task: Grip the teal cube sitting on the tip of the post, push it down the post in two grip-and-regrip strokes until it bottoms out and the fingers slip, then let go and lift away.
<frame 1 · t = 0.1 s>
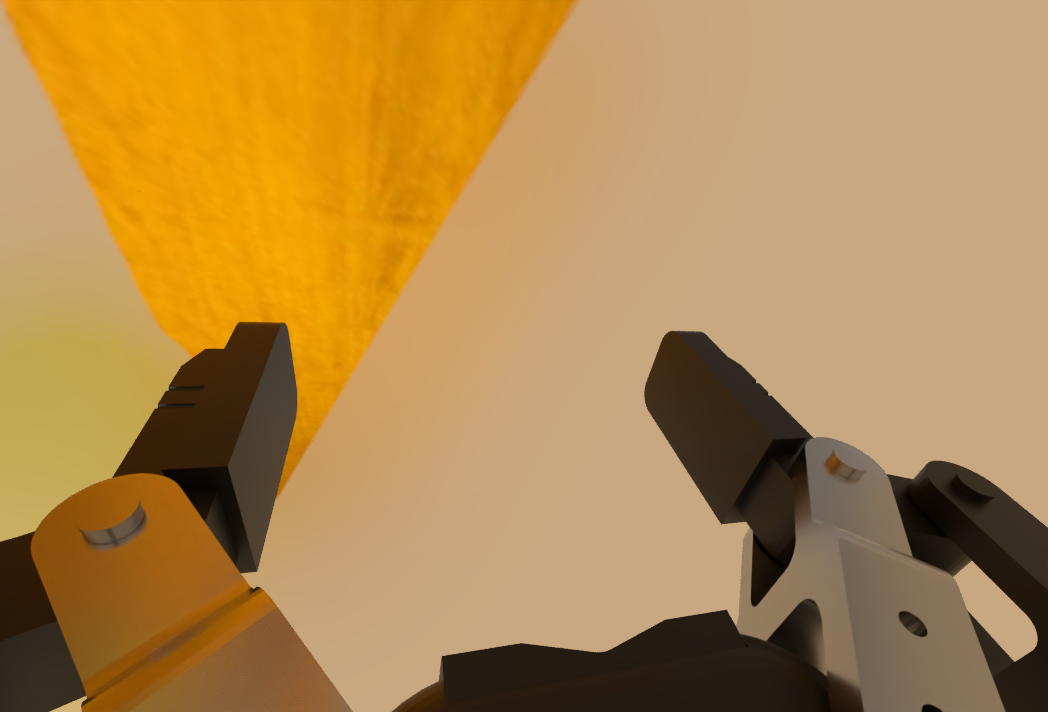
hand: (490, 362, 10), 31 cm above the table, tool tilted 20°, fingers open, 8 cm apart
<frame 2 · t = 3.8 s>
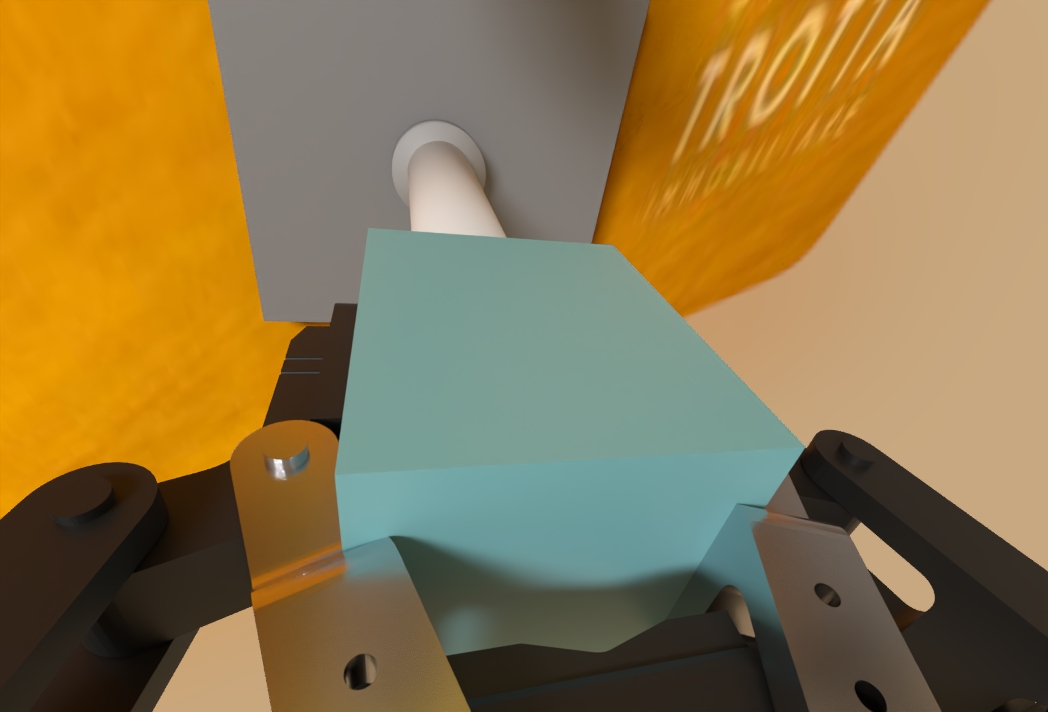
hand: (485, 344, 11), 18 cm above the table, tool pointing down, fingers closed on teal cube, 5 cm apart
post stand: (435, 158, 25), on the table
teal cube: (510, 432, 8), point 21 cm above the table, slide at 4.5 cm, touching gripper
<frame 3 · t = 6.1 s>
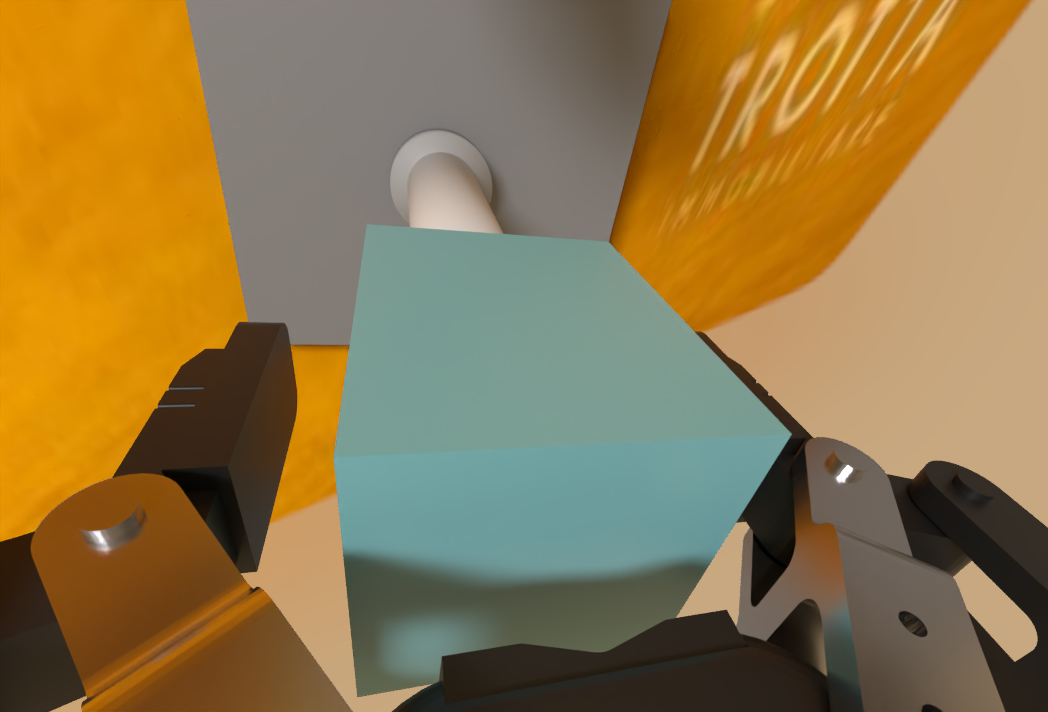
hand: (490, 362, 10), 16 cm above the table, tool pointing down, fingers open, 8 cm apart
post stand: (437, 170, 23), on the table
teal cube: (507, 425, 9), point 18 cm above the table, slide at 2.0 cm
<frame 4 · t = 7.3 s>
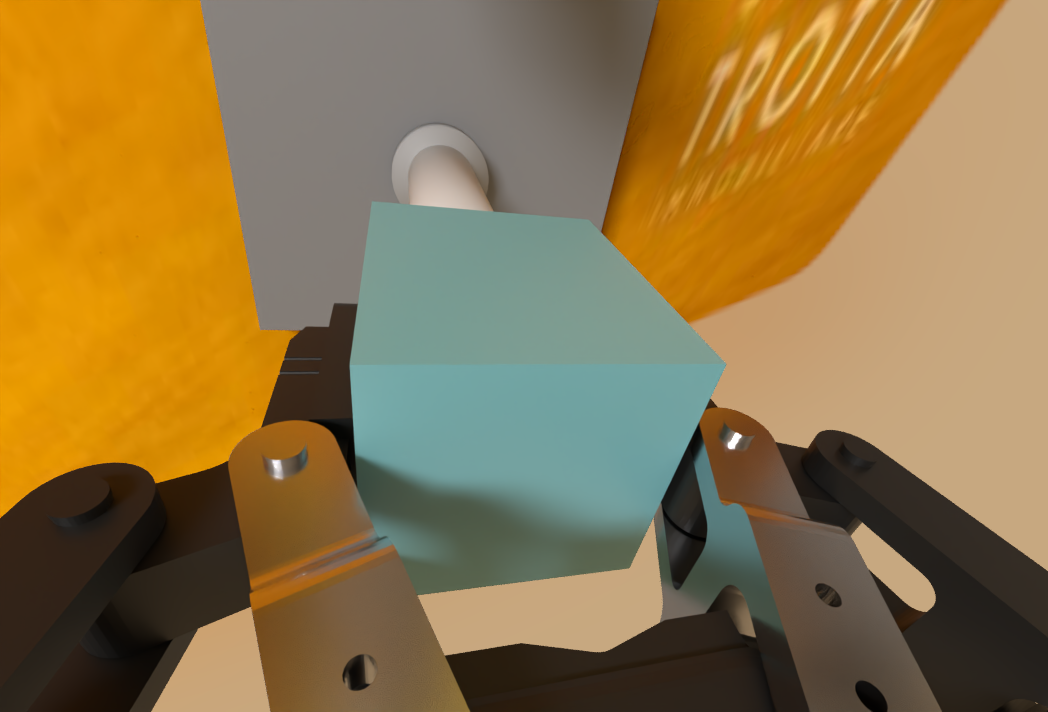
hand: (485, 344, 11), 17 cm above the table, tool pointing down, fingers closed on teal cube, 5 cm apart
post stand: (436, 162, 24), on the table
teal cube: (495, 378, 10), point 18 cm above the table, slide at 1.9 cm, touching gripper
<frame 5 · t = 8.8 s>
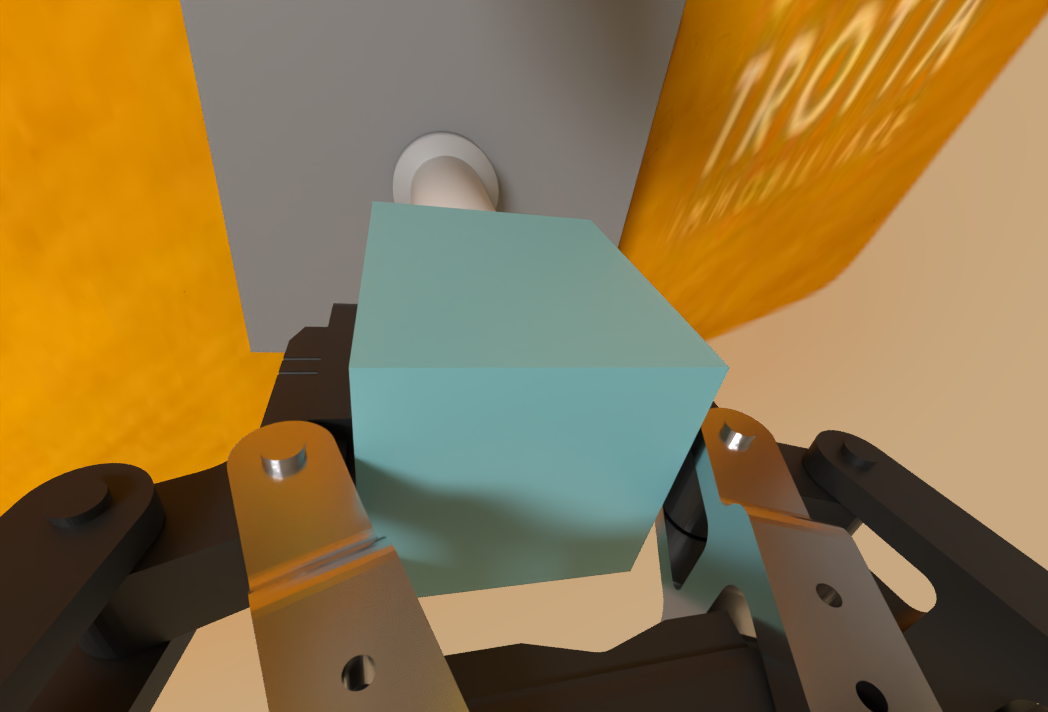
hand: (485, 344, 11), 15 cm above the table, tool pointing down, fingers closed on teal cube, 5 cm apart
post stand: (441, 173, 22), on the table
teal cube: (496, 379, 10), point 16 cm above the table, slide at -0.3 cm, touching gripper, post stand
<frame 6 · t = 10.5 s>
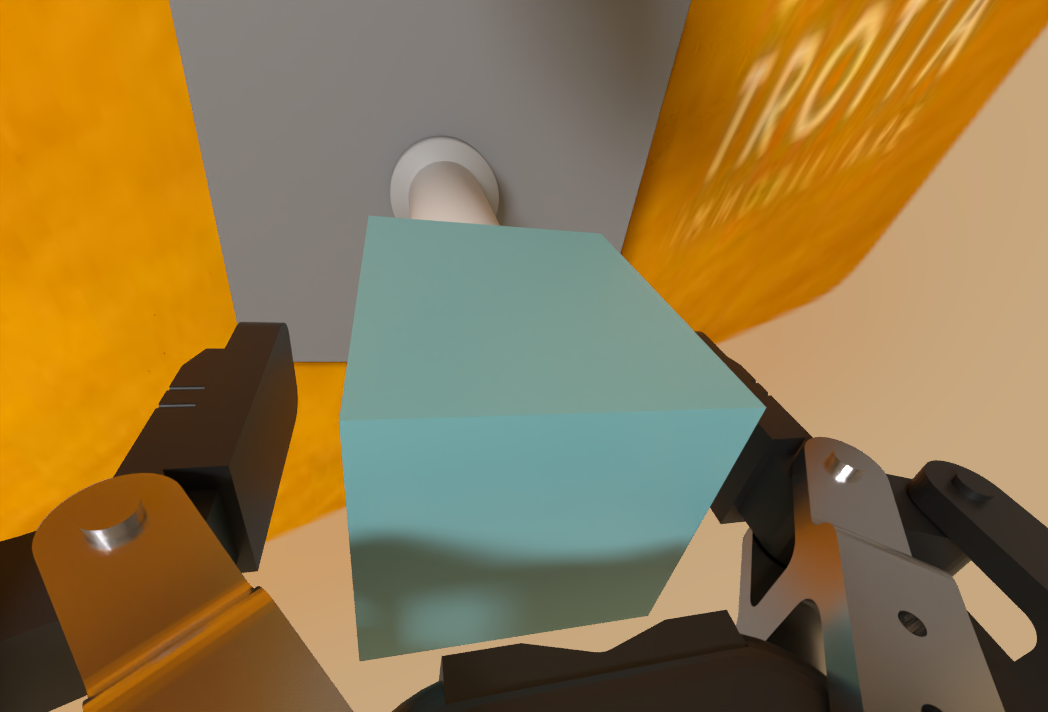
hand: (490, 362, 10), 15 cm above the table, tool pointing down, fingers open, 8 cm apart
post stand: (440, 178, 22), on the table
teal cube: (502, 407, 9), point 16 cm above the table, slide at -0.1 cm
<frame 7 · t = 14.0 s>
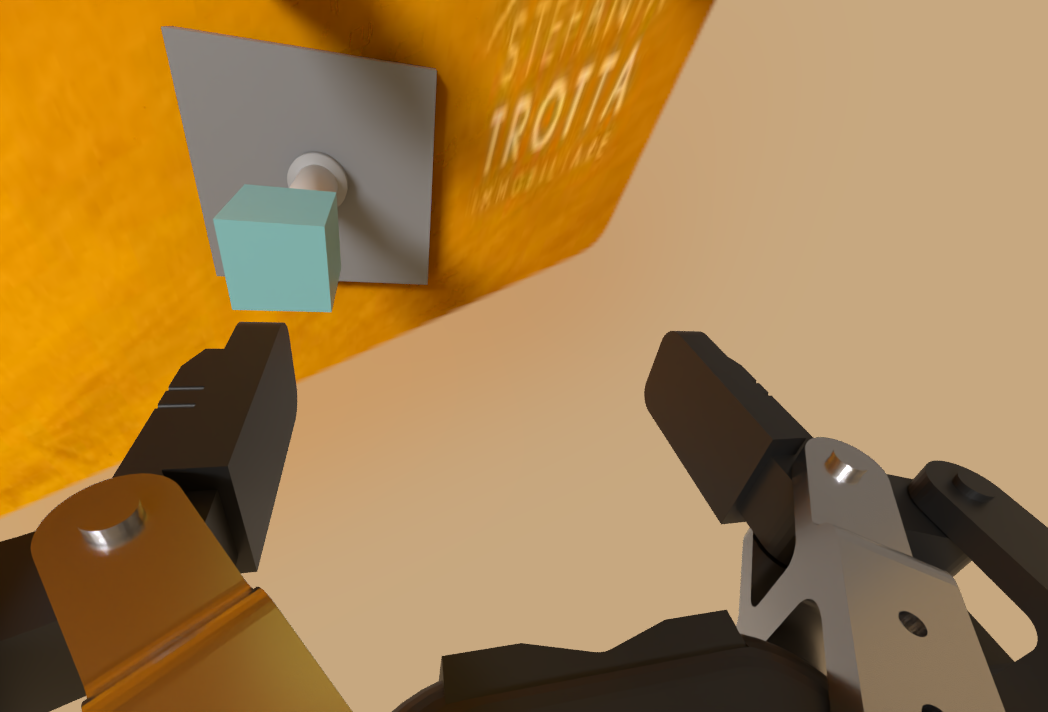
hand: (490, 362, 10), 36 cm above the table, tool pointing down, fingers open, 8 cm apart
post stand: (322, 173, 40), on the table
teal cube: (287, 247, 27), point 16 cm above the table, slide at -0.1 cm
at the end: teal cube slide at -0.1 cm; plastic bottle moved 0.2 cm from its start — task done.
